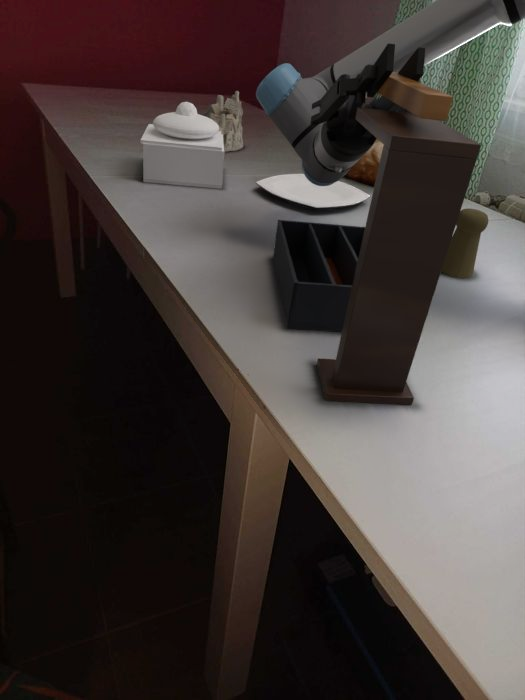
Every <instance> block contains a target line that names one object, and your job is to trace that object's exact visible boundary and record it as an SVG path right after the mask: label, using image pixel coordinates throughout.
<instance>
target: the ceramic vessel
mask: <svg viewBox="0 0 525 700" xmlns="http://www.w3.org/2000/svg"><path fill="white" fill-rule="evenodd" d="M383 146H384V144H382V143H381V142H380V141H379V140H378V139H376V141H375V143H374V144H373V146H372V147H371V148H370V149H369V150H368V151H367V152H366V153H365V154H364V155H363V156H362V157H361V158H360V159H359V160H358V161H357V162H356V163H355V164H354V165H353V166H352V168H351V169H350V170H349V171H348V172H347V174H346V175H345V176H346V177H347V178H348V179H350V180H353V181H356V182H360V183H362V184H365V185H366V184H367V185H370V186H373V187H374V186H375V181H376V177H377V172H378V168H379V163H380V159H381V154H382V150H383Z"/></svg>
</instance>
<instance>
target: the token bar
mask: <svg viewBox="0 0 525 700" xmlns="http://www.w3.org/2000/svg"><path fill="white" fill-rule="evenodd" d="M376 94H379V95H380V96H384V97H385V98H387V99H389V100H390V101H392V102H394V103H395V104H397V105H399V106H401V107H402V108H404V109H406V110H407V111H409V112H411V113H412V114H414V115H416V116H417V117H419V118H422V119H431V120H438V121H440V122H447V120H448V119H449V118H448V117H449V114H450V110H451V106H452V104H453V99H454V96H453V95H450V94H448V93H445V92H443V91H440V90H438V89H436V88H433V87H431V86H429V85H426V84H424V83H422V82H420V83H419V82H417V81H414V80H412V79H410V78H407V77H405V76H402V75H400V74H398V73H395V72H392V74H391V75H390V76H389V77H388V79H387V80H386V81H385V83H384V84H383V85H382V86H381V88H380V89H379V90H378V92H377V93H376Z"/></svg>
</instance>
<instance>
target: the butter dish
mask: <svg viewBox="0 0 525 700" xmlns="http://www.w3.org/2000/svg"><path fill="white" fill-rule="evenodd" d="M140 145H142V156H143V157H142V158H143V159H142V162H143V163H142V164H143V165H142V172H143V173H142V174H143V175H142V177H143V181H142V183H151V184H161V185H163V184H164V185H173V186H174V185H175V186H186V187H198V188H207V189H220V190H221V189H222V190H223V181H224V166H225V153H226V151H224V143H223V134H221V131H219V126H218V124H217V123H216V122H214V121H213V120H212V119H210V118H208V117H205V116H203V114H199V113H198V110H197V108H196V106H195V105H194V103H192V102H189V101H182V102H180V103H179V104H178V105H177V107H176V109H175V111H172V112H166V113H162V114H160V115H157V116H156V117H155V118H154V119H153V121H152V123H148V125H147V126H146V128H145V130H144V132H143V134H142V136H141V138H140Z"/></svg>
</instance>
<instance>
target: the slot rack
mask: <svg viewBox="0 0 525 700" xmlns="http://www.w3.org/2000/svg"><path fill="white" fill-rule="evenodd" d="M276 224H277V225H276V232H275V240H274V245H273V246H274V247H273V255H272V260H273V264H274V270H275V275H276V280H277V285H278V289H279V294H280V295H279V296H280V299H281V305H282V310H283V314H284V320H285V325H286V328H287V329H293V330H311V331H322V332H323V331H325V332H338V333H339V332H340V333H342V329H343V325H344V320H345V316H346V311H347V307H348V302H349V298H350V293H351V289H352V285H353V280H354V276H355V271H356V267H357V262H358V258H359V253H360V249H361V244H362V240H363V235H364V231H365V226H357V225H347V224H346V225H345V224H333V223H320V222H309V221H297V220H289V219H288V220H287V219H277V223H276Z"/></svg>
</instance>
